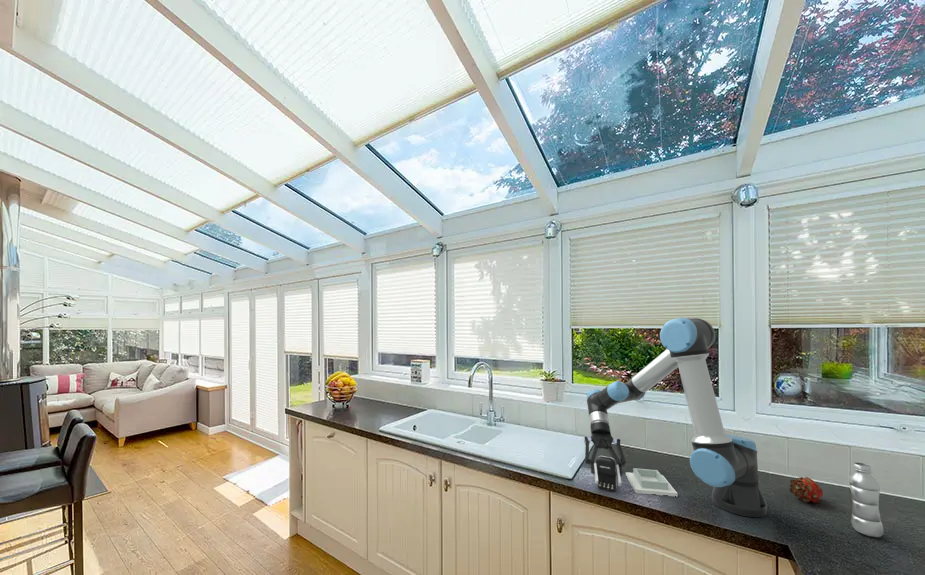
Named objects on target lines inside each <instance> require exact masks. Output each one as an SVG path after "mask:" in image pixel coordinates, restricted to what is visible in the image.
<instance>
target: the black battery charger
mask: <svg viewBox="0 0 925 575" xmlns="http://www.w3.org/2000/svg"><path fill="white" fill-rule="evenodd" d="M595 463H596V466H597V474H598V484H597V488H599V489H601V490H604V491H609V492H615V491H617V486H618V485H617V475H616V474H617V471H616V461H615V459H613V458H612V457H611V456H605V455H599V456H597V457H596V459H595Z"/></svg>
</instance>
